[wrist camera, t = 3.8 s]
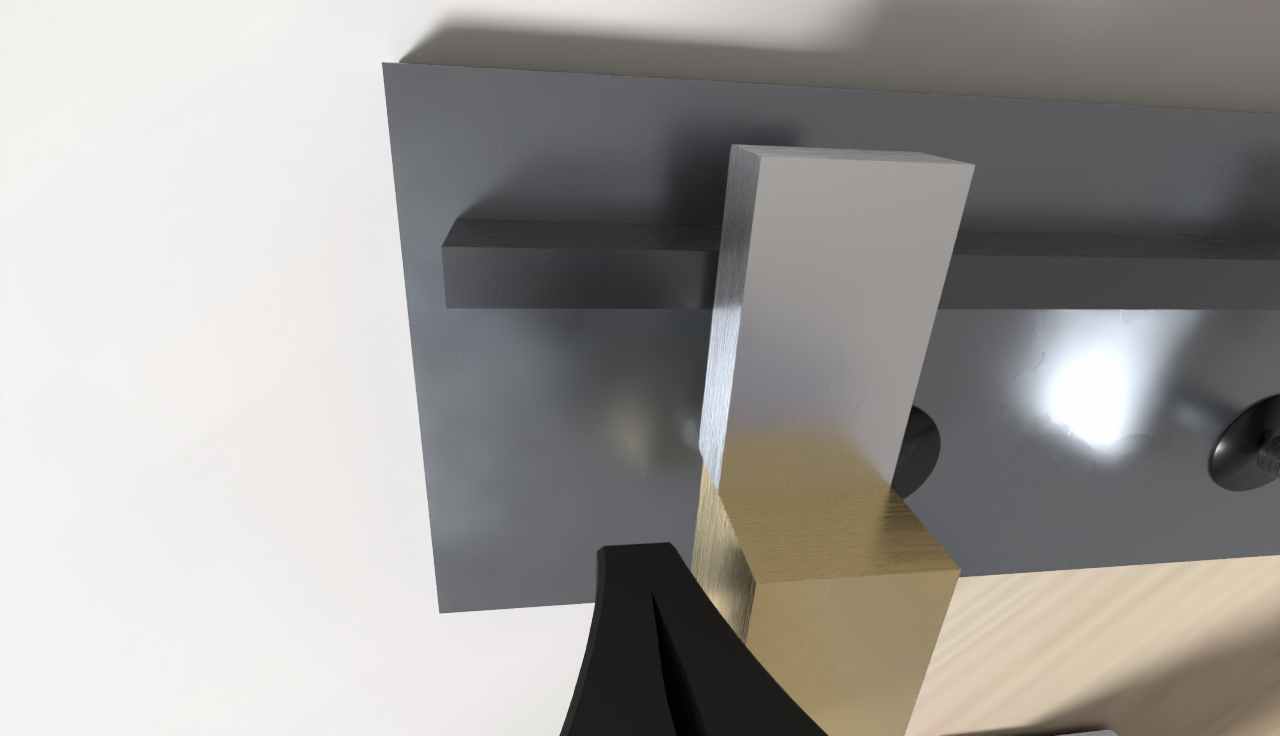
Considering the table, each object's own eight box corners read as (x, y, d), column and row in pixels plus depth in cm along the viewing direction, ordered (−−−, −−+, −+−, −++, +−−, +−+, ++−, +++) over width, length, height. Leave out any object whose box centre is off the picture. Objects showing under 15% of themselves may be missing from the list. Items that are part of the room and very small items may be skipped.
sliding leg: (784, 539, 15) (897, 755, 11) (663, 547, 15) (723, 774, 10) (860, 138, 12) (1090, 191, 7) (699, 131, 11) (823, 181, 6)
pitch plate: (1258, 527, 20) (1579, 733, 14) (445, 577, 16) (390, 891, 10) (1489, 126, 15) (2149, 168, 9) (396, 62, 11) (227, 60, 5)
